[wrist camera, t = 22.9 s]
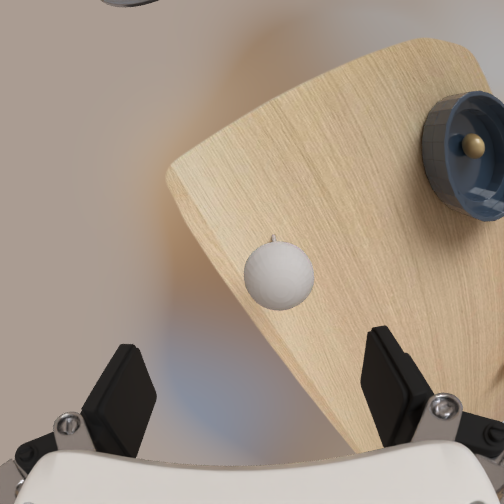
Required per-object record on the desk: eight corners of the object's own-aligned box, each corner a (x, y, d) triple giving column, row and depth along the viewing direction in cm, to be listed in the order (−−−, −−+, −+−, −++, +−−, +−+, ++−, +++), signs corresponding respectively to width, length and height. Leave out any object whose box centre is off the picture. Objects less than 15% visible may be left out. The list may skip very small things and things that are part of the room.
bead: (470, 124, 28) (479, 145, 27) (483, 134, 29) (492, 155, 28) (454, 137, 31) (461, 158, 30) (468, 146, 32) (475, 166, 31)
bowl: (413, 88, 30) (437, 80, 24) (496, 105, 29) (520, 104, 23) (420, 213, 35) (443, 224, 29) (499, 210, 34) (522, 219, 29)
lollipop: (306, 242, 37) (333, 300, 22) (268, 268, 38) (272, 336, 24) (278, 202, 35) (291, 238, 21) (239, 229, 36) (225, 281, 22)
